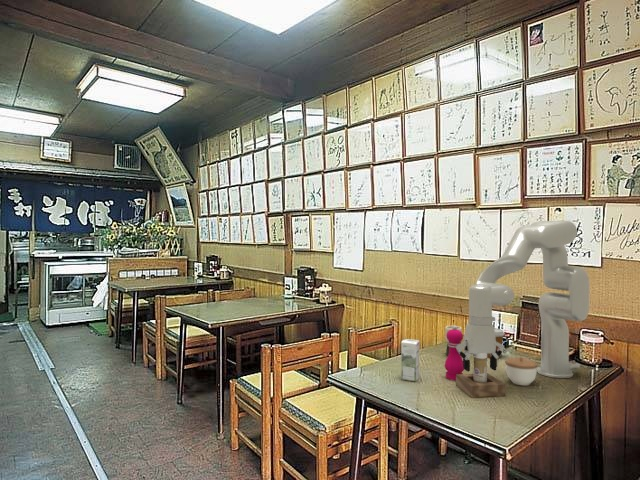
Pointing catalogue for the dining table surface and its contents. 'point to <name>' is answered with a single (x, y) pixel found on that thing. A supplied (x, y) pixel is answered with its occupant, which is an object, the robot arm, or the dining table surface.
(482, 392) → the socket block
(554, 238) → the robot arm
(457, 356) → the pepper mill
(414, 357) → the syrup box
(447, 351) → the character mug
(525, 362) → the lidded jar
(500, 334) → the disposable coffee cup
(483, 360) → the sprinkles bottle
